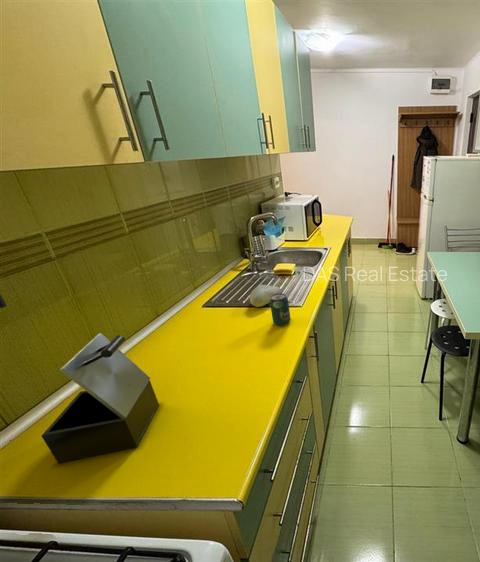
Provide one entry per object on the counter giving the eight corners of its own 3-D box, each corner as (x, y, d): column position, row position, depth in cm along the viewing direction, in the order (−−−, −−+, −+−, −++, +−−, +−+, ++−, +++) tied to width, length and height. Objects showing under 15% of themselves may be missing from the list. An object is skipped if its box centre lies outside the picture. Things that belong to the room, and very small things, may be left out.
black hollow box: (58, 463, 68) (40, 435, 65) (93, 417, 80) (80, 391, 77) (137, 447, 72) (124, 420, 68) (159, 405, 84) (149, 380, 80)
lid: (59, 370, 61) (90, 354, 61) (97, 334, 73) (123, 320, 73) (122, 419, 68) (150, 404, 69) (147, 379, 80) (171, 367, 81)
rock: (242, 309, 134) (261, 292, 152) (267, 311, 133) (283, 294, 152) (240, 293, 131) (260, 278, 150) (266, 296, 130) (282, 280, 149)
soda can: (286, 328, 120) (282, 301, 116) (270, 326, 122) (265, 299, 117) (293, 319, 127) (290, 293, 122) (278, 317, 128) (274, 292, 123)
